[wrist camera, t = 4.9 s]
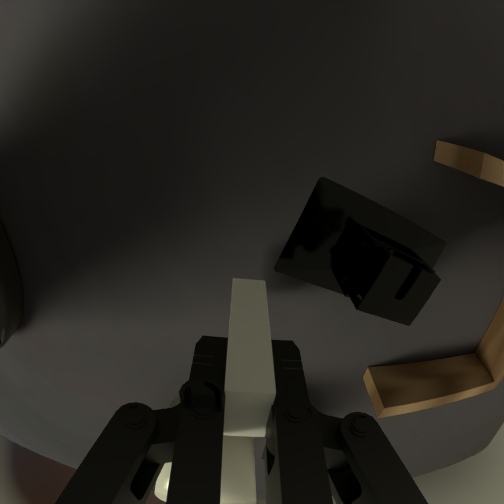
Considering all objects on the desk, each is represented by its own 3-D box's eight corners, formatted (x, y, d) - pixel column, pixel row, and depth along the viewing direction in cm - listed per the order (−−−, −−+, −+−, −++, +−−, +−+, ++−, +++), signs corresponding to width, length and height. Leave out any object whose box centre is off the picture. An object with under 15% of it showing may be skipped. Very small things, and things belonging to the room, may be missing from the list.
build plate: (459, 236, 16) (502, 270, 12) (404, 323, 19) (432, 367, 15) (297, 148, 14) (322, 163, 10) (242, 272, 17) (243, 325, 13)
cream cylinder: (173, 431, 23) (163, 506, 16) (164, 387, 20) (145, 479, 13) (249, 437, 24) (251, 513, 17) (256, 394, 21) (261, 489, 14)
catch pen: (362, 377, 21) (377, 418, 17) (436, 140, 13) (484, 152, 9) (476, 360, 21) (494, 388, 18) (546, 185, 14) (581, 203, 10)
